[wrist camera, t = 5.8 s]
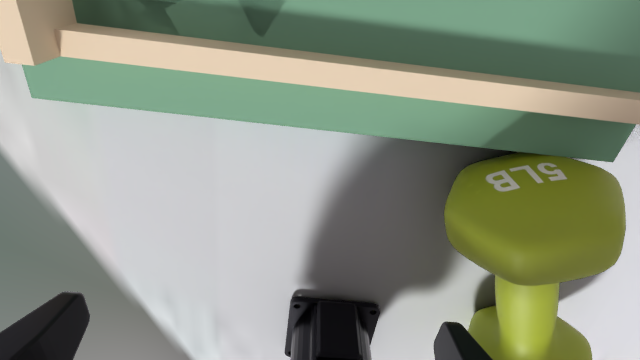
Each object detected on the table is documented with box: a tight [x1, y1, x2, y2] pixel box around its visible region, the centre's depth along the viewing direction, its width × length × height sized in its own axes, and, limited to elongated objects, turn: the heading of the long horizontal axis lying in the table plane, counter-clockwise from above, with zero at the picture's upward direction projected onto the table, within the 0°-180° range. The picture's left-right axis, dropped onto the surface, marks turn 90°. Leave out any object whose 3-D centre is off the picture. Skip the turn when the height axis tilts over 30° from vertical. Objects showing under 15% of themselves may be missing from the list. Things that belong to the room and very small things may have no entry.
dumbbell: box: [444, 152, 626, 360], centre depth 21 cm, size 16×8×7 cm, turn 15°
